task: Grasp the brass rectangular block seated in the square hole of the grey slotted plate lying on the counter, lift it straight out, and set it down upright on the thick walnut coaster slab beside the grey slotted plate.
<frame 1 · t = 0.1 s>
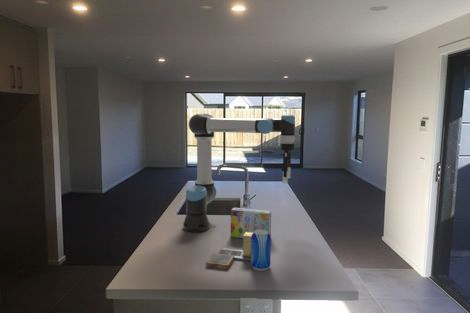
hand: (286, 180, 198), 28 cm above the table, fingers open, 13 cm apart
pad: (220, 263, 156), on the table
snack box: (250, 237, 187), on the table
beer can: (260, 267, 152), on the table
brass rectangular block: (249, 257, 162), resting in grey slotted plate
grey slotted plate: (241, 256, 163), on the table
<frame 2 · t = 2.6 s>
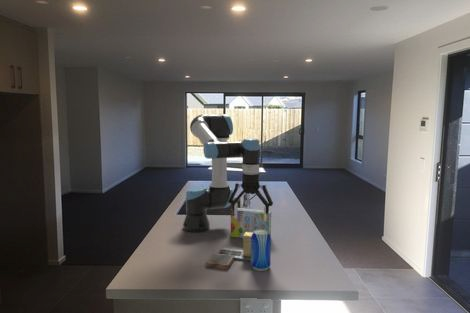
hand: (250, 219, 160), 18 cm above the table, fingers open, 13 cm apart
nothing on the table moved.
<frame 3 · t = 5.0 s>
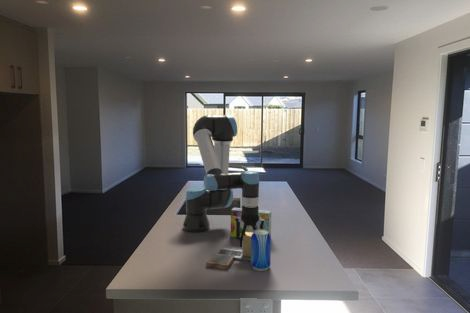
hand: (249, 254, 162), 1 cm above the table, fingers closed on brass rectangular block, 5 cm apart
brass rectangular block: (249, 257, 162), resting in grey slotted plate, touching gripper
everything else where it was.
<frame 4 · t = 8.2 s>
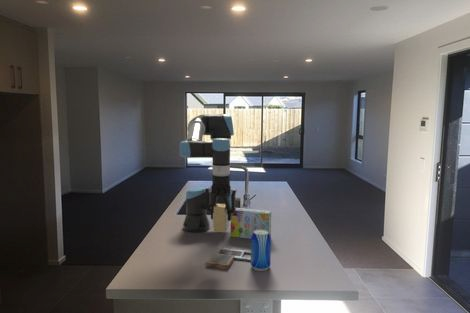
hand: (220, 226, 154), 17 cm above the table, fingers closed on brass rectangular block, 5 cm apart
brass rectangular block: (220, 229, 154), point 15 cm above the table, touching gripper
everything else where it was.
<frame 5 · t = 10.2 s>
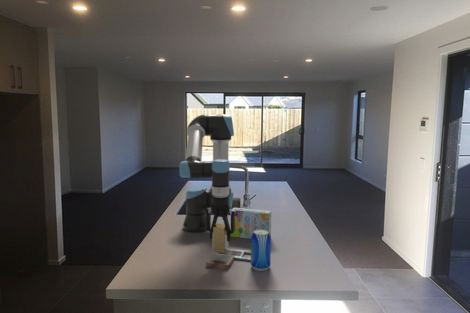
hand: (220, 247, 155), 8 cm above the table, fingers closed on brass rectangular block, 5 cm apart
brass rectangular block: (220, 250, 155), point 6 cm above the table, touching gripper
everything else where it was.
when the fingers open (4 cm above the table, at t = 11.7 s): brass rectangular block stays where it is, resting on pad.
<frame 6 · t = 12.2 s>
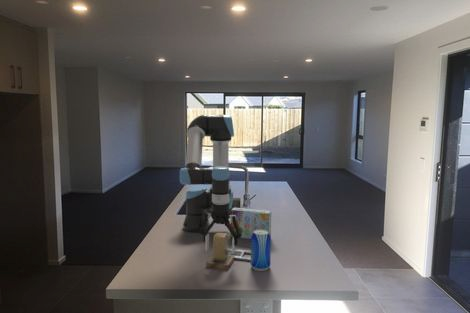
hand: (220, 250, 155), 6 cm above the table, fingers open, 11 cm apart
brass rectangular block: (220, 258, 155), point 2 cm above the table, touching pad
everything else where it was.
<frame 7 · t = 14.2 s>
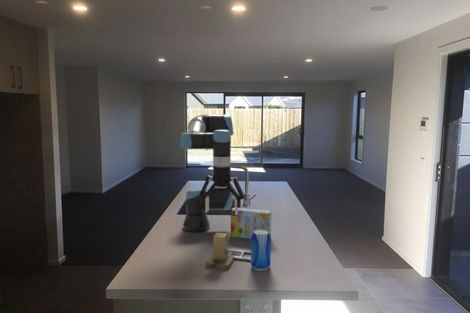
hand: (221, 212, 156), 22 cm above the table, fingers open, 13 cm apart
nothing on the table moved.
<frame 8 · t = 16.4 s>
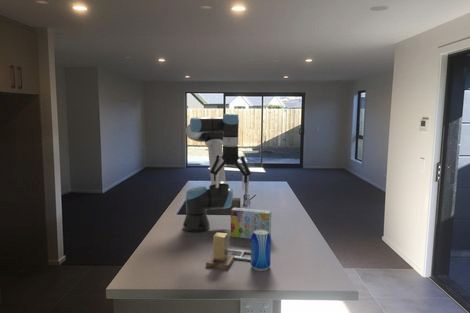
hand: (230, 188, 174), 29 cm above the table, fingers open, 13 cm apart
nothing on the table moved.
at the end: brass rectangular block inside the target area on the pad (0.0 cm from its centre), point 2.1 cm above the pad's base; brass rectangular block tilted 0°; the gripper is holding nothing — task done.
